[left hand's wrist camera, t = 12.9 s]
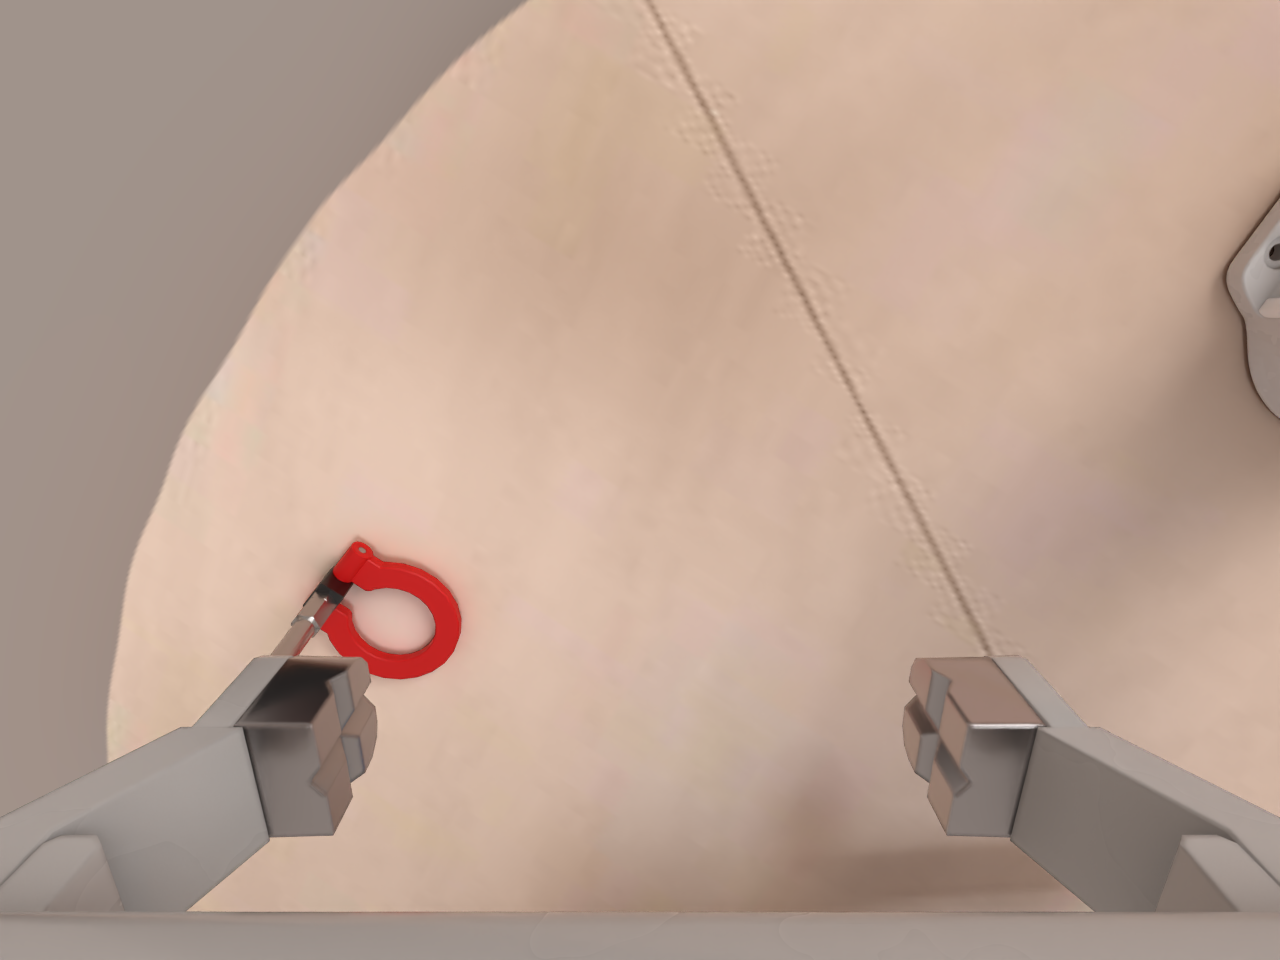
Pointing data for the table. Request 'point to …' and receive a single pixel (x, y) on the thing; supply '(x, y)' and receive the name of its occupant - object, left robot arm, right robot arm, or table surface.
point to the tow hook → (337, 618)
